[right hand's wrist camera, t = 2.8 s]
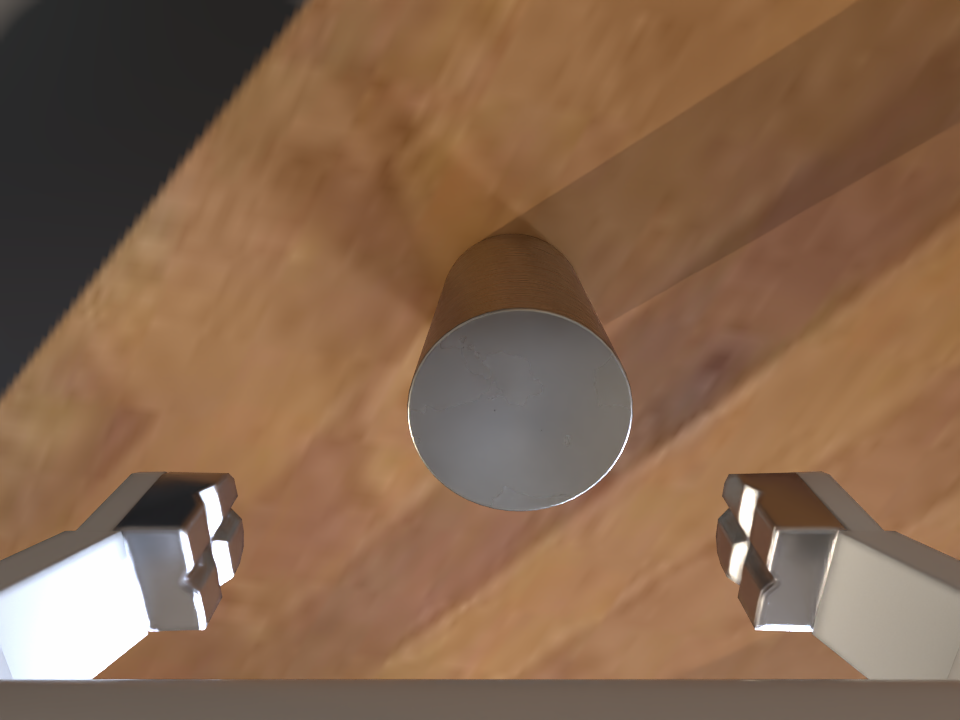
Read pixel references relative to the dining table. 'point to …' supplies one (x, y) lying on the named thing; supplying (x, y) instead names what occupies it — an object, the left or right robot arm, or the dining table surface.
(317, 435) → the dining table surface
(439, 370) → the canister
